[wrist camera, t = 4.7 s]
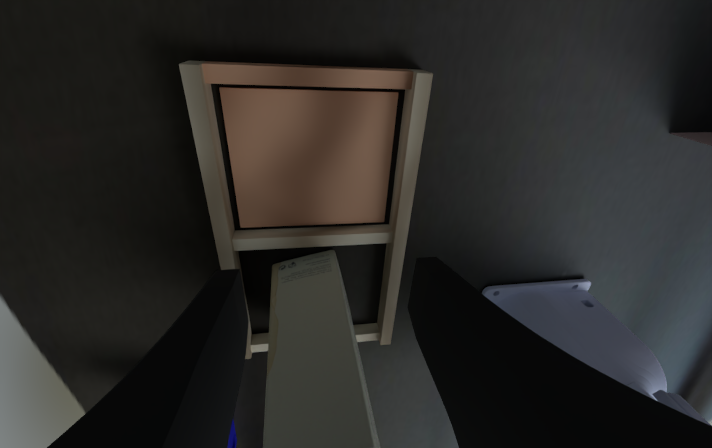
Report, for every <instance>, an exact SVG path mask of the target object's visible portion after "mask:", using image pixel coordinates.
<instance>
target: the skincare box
mask: <svg viewBox="0 0 712 448" xmlns="http://www.w3.org/2000/svg"><path fill="white" fill-rule="evenodd" d="M263 448H380V444H379V440H378V435H377V431H376V426H375V422H374V417H373V413H372V408H371V404H370V399H369V394H368V390H367V385H366V381H365V376H364V371H363V367H362V362H361V358H360V353H359V349H358V344H357V340H356V336H355V331H354V327H353V322H352V318H351V313H350V308H349V304H348V300H347V295H346V291H345V287H344V283H343V279H342V275H341V271H340V267H339V264H338V260H337V257H336V254H335V251H334V250H328V251H324V252H320V253H315V254H311V255H307V256H303V257H299V258H295V259H291V260H287V261H283V262H280V263H276V264H273V265H272V279H271V299H270V322H269V342H268V362H267V382H266V400H265V421H264V438H263Z"/></svg>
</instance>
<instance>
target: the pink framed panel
mask: <svg viewBox="0 0 712 448" xmlns="http://www.w3.org/2000/svg"><path fill="white" fill-rule="evenodd" d="M179 68H180V73H181V78H182V83H183V87H184V92H185V97H186V102H187V107H188V112H189V117H190V121H191V126H192V131H193V136H194V141H195V146H196V151H197V156H198V160H199V165H200V170H201V175H202V180H203V185H204V190H205V194H206V199H207V204H208V209H209V214H210V219H211V224H212V228H213V233H214V238H215V243H216V248H217V253H218V258H219V262H220V267H221V270H227V269H240V272H241V278H242V284H243V290H244V296H245V302H246V308H247V314H248V320H249V323H248V336H247V347H246V356H245V359H250V358H251V355H252V352H262V351H268V342H269V333H260V334H252V331H251V325H250V319H249V313H248V307H247V301H246V295H245V289H244V283H243V277H242V271H241V265H240V259H239V252H238V251H243V250H263V249H283V248H302V247H322V246H342V245H362V244H381V243H387V244H386V253H385V261H384V269H383V278H382V286H381V294H380V302H379V311H378V319H377V323H370V324H359V325H353V327H354V331H355V336H356V340H357V342H362V341H372V340H379V342H380V345H387V344H390V343H391V337H392V331H393V324H394V318H395V312H396V305H397V299H398V293H399V286H400V280H401V274H402V267H403V261H404V255H405V248H406V242H407V236H408V230H409V223H410V217H411V211H412V204H413V198H414V192H415V185H416V179H417V173H418V166H419V160H420V154H421V147H422V141H423V135H424V128H425V122H426V116H427V109H428V103H429V97H430V90H431V84H432V78H433V73H430V72H427V71H425V70H416V69H391V68H365V67H340V66H314V65H288V64H263V63H237V62H212V61H186V62H183V63H180V64H179ZM211 84H241V85H276V86H311V87H346V88H381V89H405V95H404V103H403V112H402V120H401V128H400V137H399V145H398V153H397V161H396V170H395V178H394V186H393V195H392V203H391V211H390V220H389V224H381V225H357V226H332V227H308V228H283V229H259V230H235V228H234V222H233V216H232V210H231V204H230V198H229V192H228V186H227V180H226V174H225V167H224V161H223V155H222V149H221V143H220V137H219V131H218V125H217V119H216V113H215V107H214V101H213V95H212V89H211ZM219 89H220V96H221V102H222V109H223V115H224V122H225V129H226V135H227V142H228V148H229V155H230V161H231V168H232V174H233V181H234V187H235V194H236V200H237V207H238V213H239V220H240V226H241V228H247V227H272V226H297V225H322V224H347V223H372V222H384V219H385V210H386V201H387V192H388V183H389V174H390V165H391V156H392V147H393V138H394V129H395V120H396V111H397V102H398V92H379V91H342V90H305V89H269V88H232V87H220V88H219Z"/></svg>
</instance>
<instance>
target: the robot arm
mask: <svg viewBox="0 0 712 448" xmlns="http://www.w3.org/2000/svg"><path fill="white" fill-rule="evenodd" d="M590 285H591V282H590V281H589V280H587V279H576V280H563V281H550V282H537V283H524V284H511V285H498V286H488V287H486V288H485V289H484V290H483V291H482V293H480V292H479V291H478V290H476V289H475V288H474V287H473V286H471V285H470V284H469V283H468V282H467V281H465V280H464V279H463V278H462V277H460V276H459V275H458V274H457V273H456V272H454V271H453V270H452V269H451V268H449V267H448V266H447V265H446V264H444V263H443V262H442V261H441V260H439V259H438V258H437V257H428V258H417V260H416V265H415V270H414V276H413V281H412V287H411V292H410V298H409V303H408V310H409V314H410V318H411V322H412V325H413V329H414V332H415V336H416V339H417V341H418V344H419V346H420V349H421V351H422V354H423V356H424V358H425V361H426V363H427V366H428V368H429V370H430V373H431V375H432V377H433V380H434V382H435V385H436V387H437V389H438V392H439V394H440V396H441V399H442V401H443V404H444V406H445V408H446V411H447V413H448V416H449V419H450V421H451V424H452V427H453V430H454V433H455V436H456V439H457V443H458V446H459V448H712V426H711V425H710V424H709V423H708V422H707V421H706V420H705V419H704V418H703V417H702V416H701V415H700V414H699V413H698V412H697V411H696V410H695V409H694V408H692V407H691V406H690V405H689V404H688V403H687V402H686V401H685V400H684V399H683V398H682V397H681V396H680V395H677V394H673V393H666V392H667V382H666V378H665V375H664V372H663V370H662V367H661V365H660V363H659V361H658V360H657V358H656V357H655V355H654V354H653V353H652V351H651V350H650V349H649V348H648V347H647V346H646V345H645V344H644V343H643V342H642V341H641V340H640V339H639V338H638V337H637V336H636V335H635V334H634V333H633V332H631V331H630V330H629V329H628V328H627V327H626V326H625V325H624V324H623V323H622V322H620V321H619V320H618V319H617V318H616V317H615V316H614V315H613V314H612V313H611V312H610V311H608V310H607V309H606V308H605V307H604V306H603V305H602V304H601V303H600V302H599V301H598V300H596V299H595V298H594V297H593V296H592V295H591V294H590V293H589V292H588V289H589V287H590ZM248 323H249V320H248V314H247V308H246V302H245V296H244V290H243V284H242V278H241V272H240V269H227V270H216V271H215V272H214V273H213V274H212V276H211V277H210V278H209V280H208V281H207V282H206V284H205V285H204V286H203V288H202V289H201V290H200V292H199V293H198V294H197V295H196V297H195V298H194V299H193V300H192V302H191V303H190V304H189V305H188V307H187V308H186V309H185V310H184V312H183V313H182V314H181V315H180V316H179V317H178V319H177V320H176V321H175V322H174V323H173V325H172V326H171V327H170V328H169V329H168V331H167V332H166V333H165V334H164V335H163V336H162V337H161V339H160V340H159V341H158V342H157V343H156V344H155V345H154V346H153V347H152V348H151V349H150V350H149V352H148V353H147V354H146V355H145V356H144V357H143V358H142V359H141V360H140V361H139V362H138V363H137V365H136V366H135V367H134V368H133V369H132V370H131V371H130V372H129V373H128V374H127V375H126V376H125V377H124V378H123V379H122V380H121V381H120V382H119V383H118V384H117V385H116V386H115V387H114V388H113V389H112V390H111V391H109V392H108V393H107V394H106V395H105V396H104V397H103V398H102V399H101V400H100V401H99V402H98V403H97V404H96V405H95V406H94V407H93V408H92V409H90V410H89V411H88V412H87V413H86V414H85V415H84V416H83V417H81V418H80V419H79V420H78V421H77V422H76V423H75V424H74V425H72V426H71V427H70V428H69V429H68V430H67V431H66V432H65V433H63V434H62V435H61V436H60V437H59V438H58V439H56V440H55V441H54V442H53V443H52V444H51V445H50V446H48V447H47V448H227V446H228V440H229V435H230V430H231V425H232V421H233V416H234V411H235V406H236V401H237V396H238V391H239V387H240V382H241V377H242V372H243V367H244V362H245V356H246V347H247V336H248Z"/></svg>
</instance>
